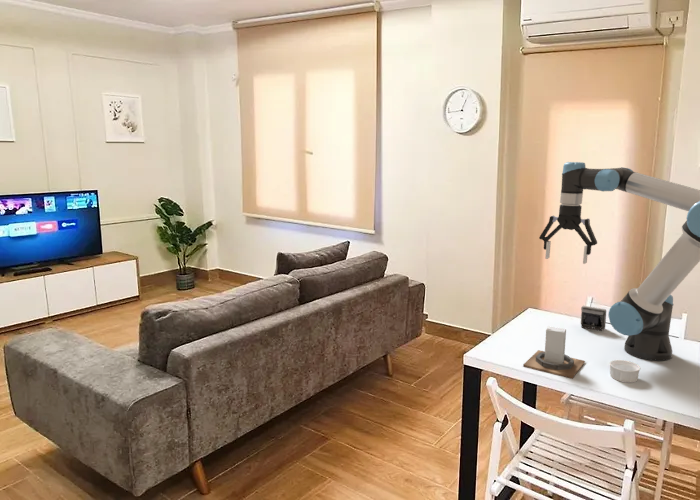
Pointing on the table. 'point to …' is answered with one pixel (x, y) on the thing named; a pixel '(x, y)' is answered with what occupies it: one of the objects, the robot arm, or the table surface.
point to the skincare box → (555, 345)
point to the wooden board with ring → (565, 369)
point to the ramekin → (624, 371)
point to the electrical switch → (593, 318)
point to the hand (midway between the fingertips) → (565, 260)
